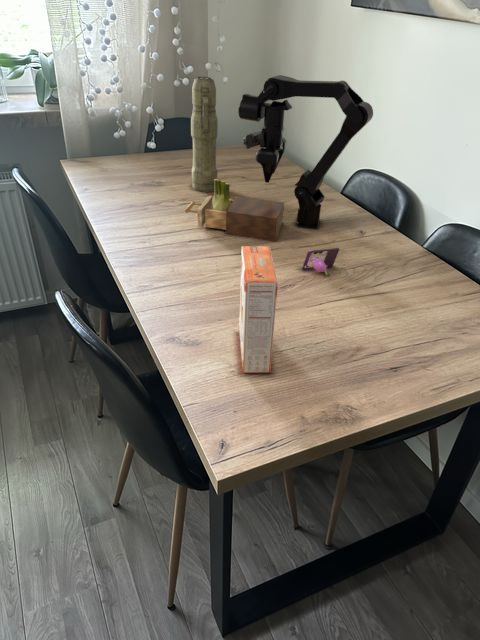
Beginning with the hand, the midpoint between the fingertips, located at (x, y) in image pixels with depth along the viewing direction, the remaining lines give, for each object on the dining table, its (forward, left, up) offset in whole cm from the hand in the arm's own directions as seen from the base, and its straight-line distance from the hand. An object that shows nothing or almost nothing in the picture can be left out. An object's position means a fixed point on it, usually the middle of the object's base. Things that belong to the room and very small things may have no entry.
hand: (269, 177), depth 157 cm
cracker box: (-11, +74, -12) cm, 76 cm away
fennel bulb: (+12, +13, -10) cm, 21 cm away
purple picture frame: (-21, +34, -12) cm, 42 cm away
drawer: (+13, +13, -11) cm, 21 cm away
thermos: (+26, -17, -12) cm, 33 cm away
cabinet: (+1, +12, -12) cm, 17 cm away
